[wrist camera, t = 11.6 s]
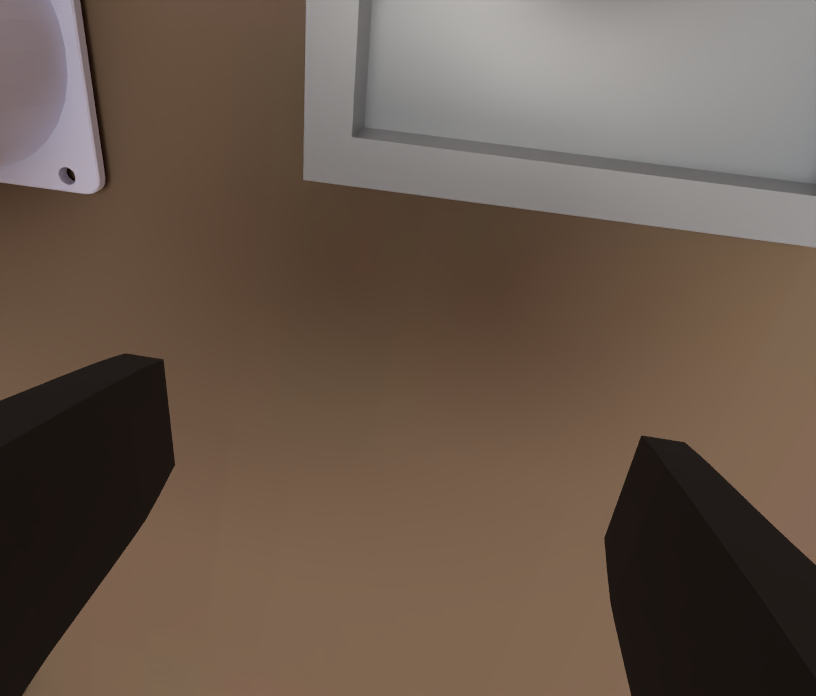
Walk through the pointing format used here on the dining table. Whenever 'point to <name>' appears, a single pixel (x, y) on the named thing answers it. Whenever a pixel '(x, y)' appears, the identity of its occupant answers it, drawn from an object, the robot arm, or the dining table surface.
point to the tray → (573, 107)
